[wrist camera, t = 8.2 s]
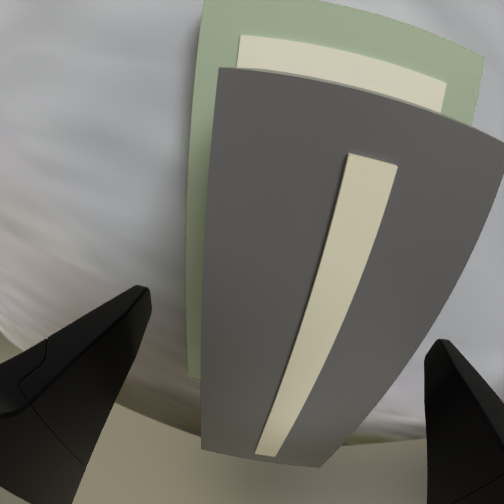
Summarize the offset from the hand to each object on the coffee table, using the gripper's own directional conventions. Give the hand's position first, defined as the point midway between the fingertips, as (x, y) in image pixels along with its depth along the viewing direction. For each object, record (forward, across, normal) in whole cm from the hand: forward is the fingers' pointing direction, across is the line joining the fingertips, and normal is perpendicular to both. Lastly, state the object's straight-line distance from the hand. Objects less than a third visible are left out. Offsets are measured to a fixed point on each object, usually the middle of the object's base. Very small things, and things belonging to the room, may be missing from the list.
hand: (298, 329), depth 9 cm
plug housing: (+3, 0, 0) cm, 3 cm away
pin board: (+5, 0, 0) cm, 5 cm away
